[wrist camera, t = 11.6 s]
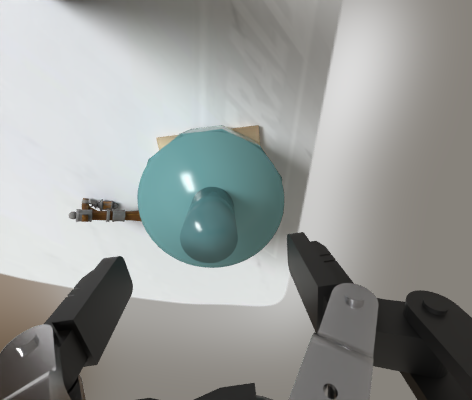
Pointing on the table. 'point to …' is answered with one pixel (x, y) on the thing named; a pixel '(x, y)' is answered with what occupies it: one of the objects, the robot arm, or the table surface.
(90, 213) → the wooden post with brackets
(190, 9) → the table surface
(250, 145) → the teal lid with knob
